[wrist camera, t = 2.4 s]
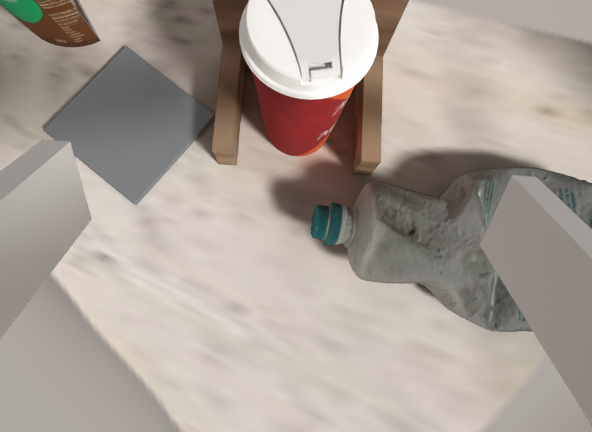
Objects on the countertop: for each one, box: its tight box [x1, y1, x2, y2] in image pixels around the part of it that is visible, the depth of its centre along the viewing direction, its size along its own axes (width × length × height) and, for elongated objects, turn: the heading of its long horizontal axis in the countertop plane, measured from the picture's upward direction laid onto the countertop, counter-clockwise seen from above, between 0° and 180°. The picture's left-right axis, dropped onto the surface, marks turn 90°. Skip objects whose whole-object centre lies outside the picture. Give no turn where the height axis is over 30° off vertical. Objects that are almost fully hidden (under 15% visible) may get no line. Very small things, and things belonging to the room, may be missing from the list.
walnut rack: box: [212, 0, 409, 175], centre depth 28 cm, size 10×13×12 cm
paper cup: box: [239, 0, 379, 156], centre depth 27 cm, size 8×8×14 cm
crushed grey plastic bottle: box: [311, 167, 592, 332], centre depth 29 cm, size 13×7×25 cm
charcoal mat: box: [43, 46, 215, 205], centre depth 33 cm, size 10×10×1 cm
